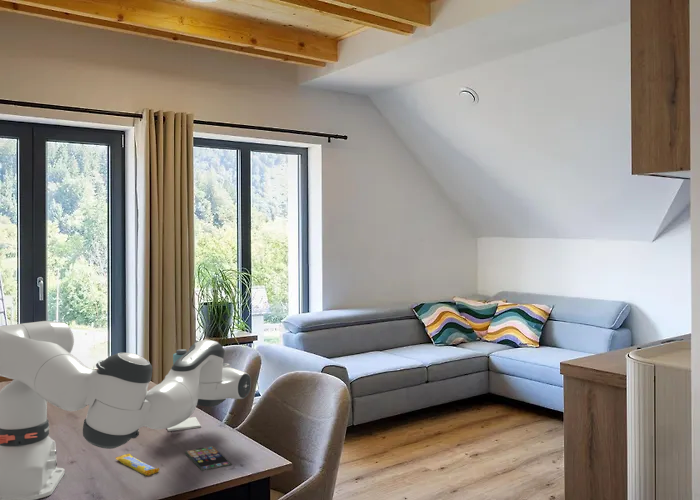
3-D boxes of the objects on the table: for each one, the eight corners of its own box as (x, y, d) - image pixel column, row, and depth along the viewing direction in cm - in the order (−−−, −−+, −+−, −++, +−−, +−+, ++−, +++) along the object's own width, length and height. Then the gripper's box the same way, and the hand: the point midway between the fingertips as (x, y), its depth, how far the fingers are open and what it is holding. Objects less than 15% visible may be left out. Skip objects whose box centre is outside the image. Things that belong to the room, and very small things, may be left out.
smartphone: (202, 472, 165) (202, 468, 165) (185, 455, 178) (185, 450, 178) (231, 466, 169) (231, 462, 169) (213, 449, 182) (213, 445, 182)
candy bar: (161, 474, 164) (161, 467, 164) (146, 479, 161) (146, 471, 161) (129, 458, 176) (129, 451, 176) (115, 462, 173) (115, 455, 173)
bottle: (191, 398, 203) (191, 351, 202) (174, 400, 201) (174, 352, 200) (189, 395, 207) (188, 348, 207) (172, 396, 205) (172, 349, 205)
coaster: (200, 427, 202) (200, 425, 202) (168, 431, 198) (168, 429, 198) (195, 418, 211) (195, 416, 211) (164, 422, 207) (164, 420, 207)
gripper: (182, 396, 188) (152, 389, 196) (233, 382, 204) (204, 377, 212) (181, 374, 188) (152, 369, 196) (233, 363, 204) (204, 358, 212)
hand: (180, 373), depth 204 cm, fingers closed on bottle, 5 cm apart
